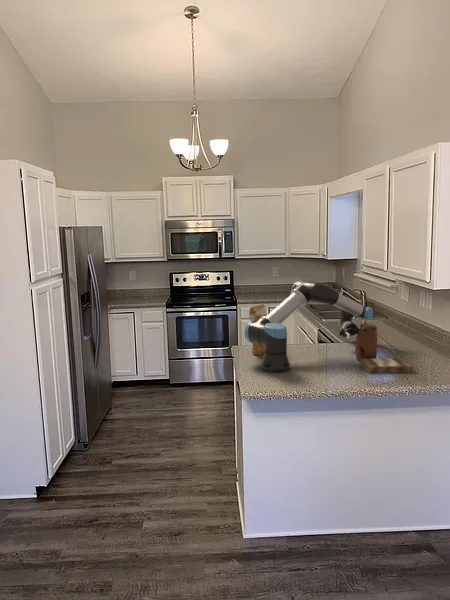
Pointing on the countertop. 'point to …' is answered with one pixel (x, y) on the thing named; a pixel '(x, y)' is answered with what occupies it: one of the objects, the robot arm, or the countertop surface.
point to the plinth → (385, 365)
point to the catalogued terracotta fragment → (366, 342)
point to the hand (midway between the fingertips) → (360, 336)
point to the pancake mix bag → (255, 314)
